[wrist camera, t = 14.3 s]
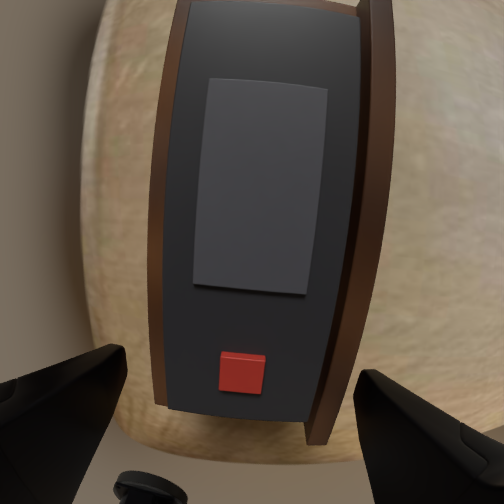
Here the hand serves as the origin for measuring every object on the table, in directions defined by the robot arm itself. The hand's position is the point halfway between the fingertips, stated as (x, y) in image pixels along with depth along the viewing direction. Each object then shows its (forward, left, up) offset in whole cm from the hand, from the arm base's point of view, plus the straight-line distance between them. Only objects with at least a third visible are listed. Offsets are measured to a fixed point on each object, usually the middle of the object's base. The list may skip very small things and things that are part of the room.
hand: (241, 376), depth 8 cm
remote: (+4, 0, -2) cm, 5 cm away
